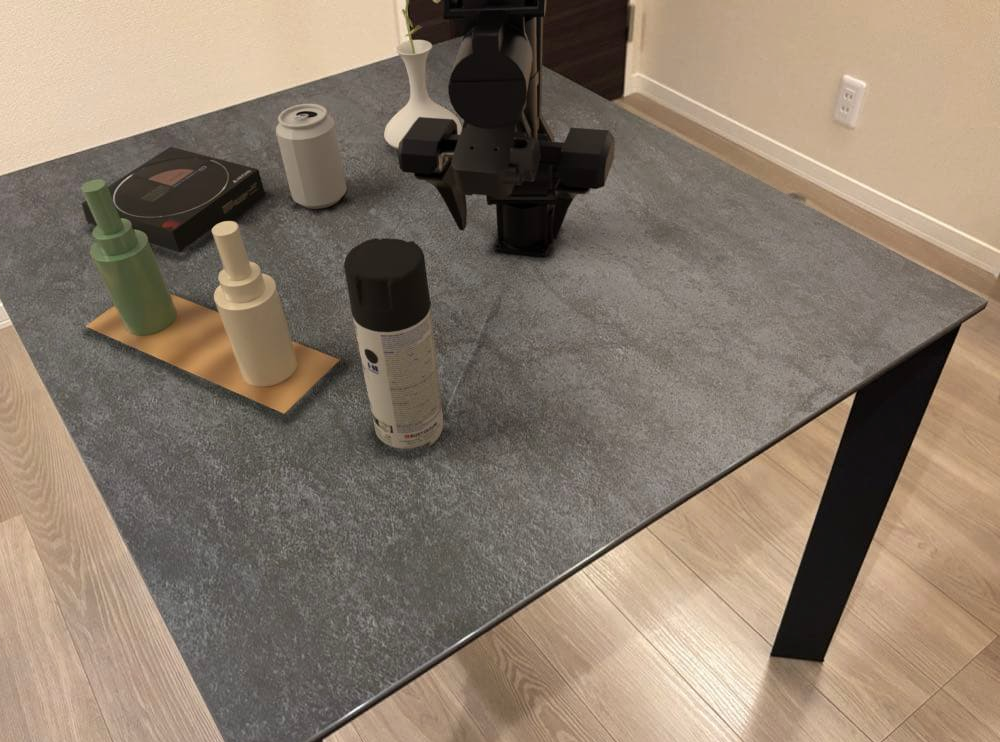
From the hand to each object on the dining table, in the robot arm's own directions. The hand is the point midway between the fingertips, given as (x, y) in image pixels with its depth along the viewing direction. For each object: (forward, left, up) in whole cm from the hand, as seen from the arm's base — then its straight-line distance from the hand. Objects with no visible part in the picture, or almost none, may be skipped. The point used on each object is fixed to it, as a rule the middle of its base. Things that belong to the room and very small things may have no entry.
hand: (508, 232), depth 80 cm
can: (-33, +23, -13) cm, 42 cm away
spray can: (-6, -16, -13) cm, 21 cm away
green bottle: (-41, -7, -12) cm, 43 cm away
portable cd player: (-51, +16, -13) cm, 55 cm away
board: (-32, -9, -13) cm, 36 cm away
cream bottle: (-23, -11, -12) cm, 29 cm away
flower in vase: (-24, +41, -13) cm, 49 cm away
